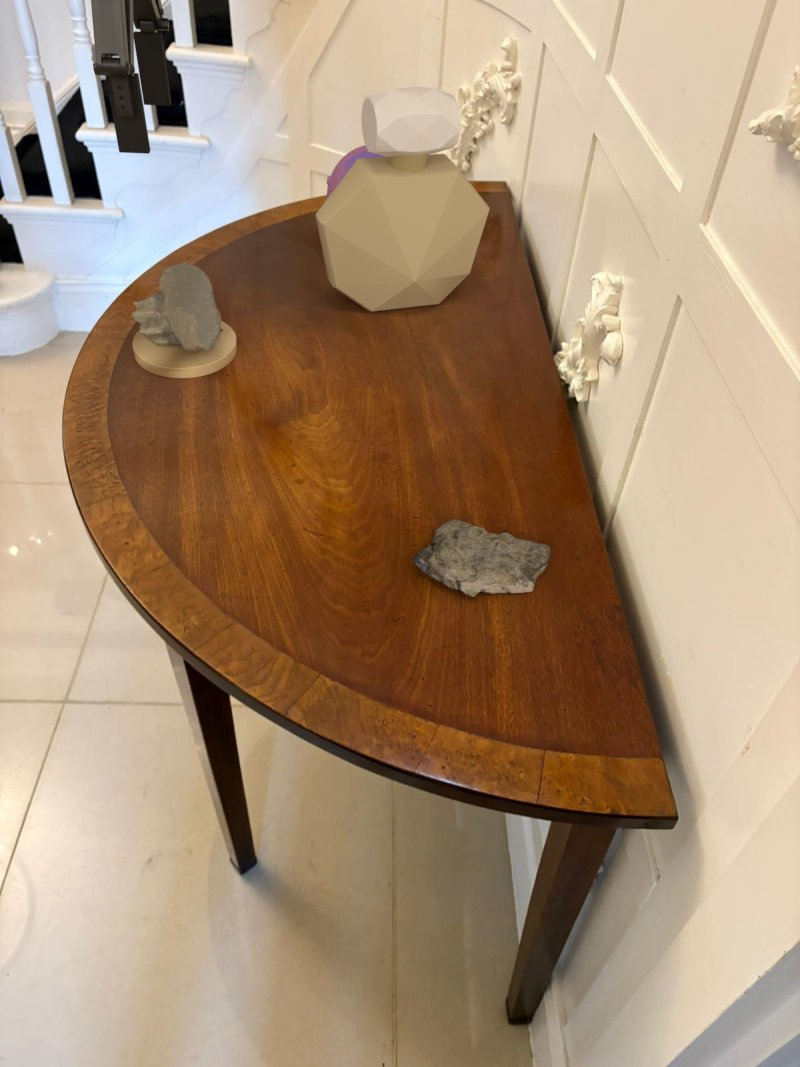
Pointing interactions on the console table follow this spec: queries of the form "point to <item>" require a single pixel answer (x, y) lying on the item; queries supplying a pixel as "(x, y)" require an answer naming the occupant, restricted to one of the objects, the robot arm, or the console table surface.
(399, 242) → the perfume bottle
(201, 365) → the maple disc
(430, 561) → the stone
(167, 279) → the fossil
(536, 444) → the console table surface
